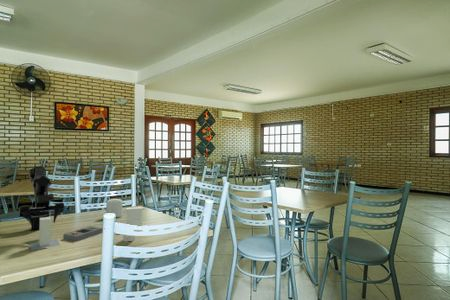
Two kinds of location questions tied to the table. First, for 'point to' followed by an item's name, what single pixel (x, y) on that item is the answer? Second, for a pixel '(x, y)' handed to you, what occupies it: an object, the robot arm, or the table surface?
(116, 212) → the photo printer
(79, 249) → the table surface
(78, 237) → the power strip
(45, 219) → the block
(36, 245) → the mat
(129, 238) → the shot glass
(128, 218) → the base with upright slab
